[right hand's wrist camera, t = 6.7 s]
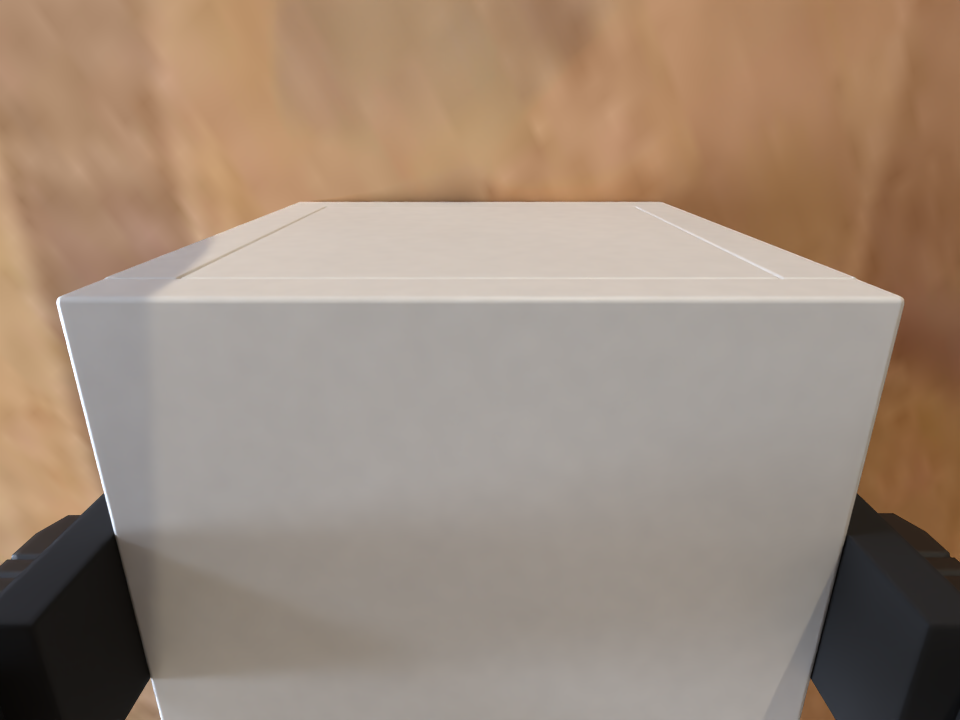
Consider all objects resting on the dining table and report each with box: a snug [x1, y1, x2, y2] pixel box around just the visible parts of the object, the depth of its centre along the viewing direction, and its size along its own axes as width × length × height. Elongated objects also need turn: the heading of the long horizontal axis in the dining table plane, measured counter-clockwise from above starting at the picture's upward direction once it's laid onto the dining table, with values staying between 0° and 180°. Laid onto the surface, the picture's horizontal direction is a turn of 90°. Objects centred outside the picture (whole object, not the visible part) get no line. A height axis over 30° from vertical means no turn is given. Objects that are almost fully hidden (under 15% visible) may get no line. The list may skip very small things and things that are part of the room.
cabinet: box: [57, 202, 904, 720], centre depth 16 cm, size 22×10×11 cm, turn 0°
